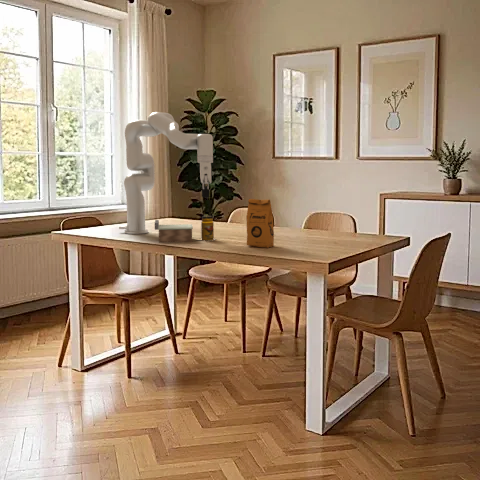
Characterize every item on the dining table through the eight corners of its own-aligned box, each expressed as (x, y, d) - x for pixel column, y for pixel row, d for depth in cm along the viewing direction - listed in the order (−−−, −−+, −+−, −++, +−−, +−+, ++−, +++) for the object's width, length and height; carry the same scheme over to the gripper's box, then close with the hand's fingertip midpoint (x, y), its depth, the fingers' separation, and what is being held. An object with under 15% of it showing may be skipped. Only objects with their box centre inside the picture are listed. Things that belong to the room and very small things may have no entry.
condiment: (211, 241, 305) (211, 217, 304) (195, 240, 308) (195, 216, 306) (216, 239, 312) (216, 215, 310) (200, 238, 315) (200, 215, 313)
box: (158, 242, 302) (158, 230, 301) (159, 238, 314) (159, 227, 313) (192, 241, 303) (192, 229, 302) (191, 238, 315) (191, 226, 314)
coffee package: (267, 249, 281) (268, 200, 278) (243, 247, 287) (243, 199, 284) (277, 246, 290) (277, 198, 287) (253, 244, 296) (253, 197, 293)
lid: (154, 229, 300) (154, 223, 300) (155, 226, 313) (155, 220, 312) (192, 229, 302) (192, 222, 302) (192, 225, 314) (191, 219, 314)
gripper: (213, 160, 296) (214, 198, 299) (211, 159, 313) (212, 195, 316) (198, 160, 295) (198, 198, 298) (196, 159, 312) (197, 195, 315)
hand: (205, 196), depth 307 cm, fingers open, 4 cm apart
